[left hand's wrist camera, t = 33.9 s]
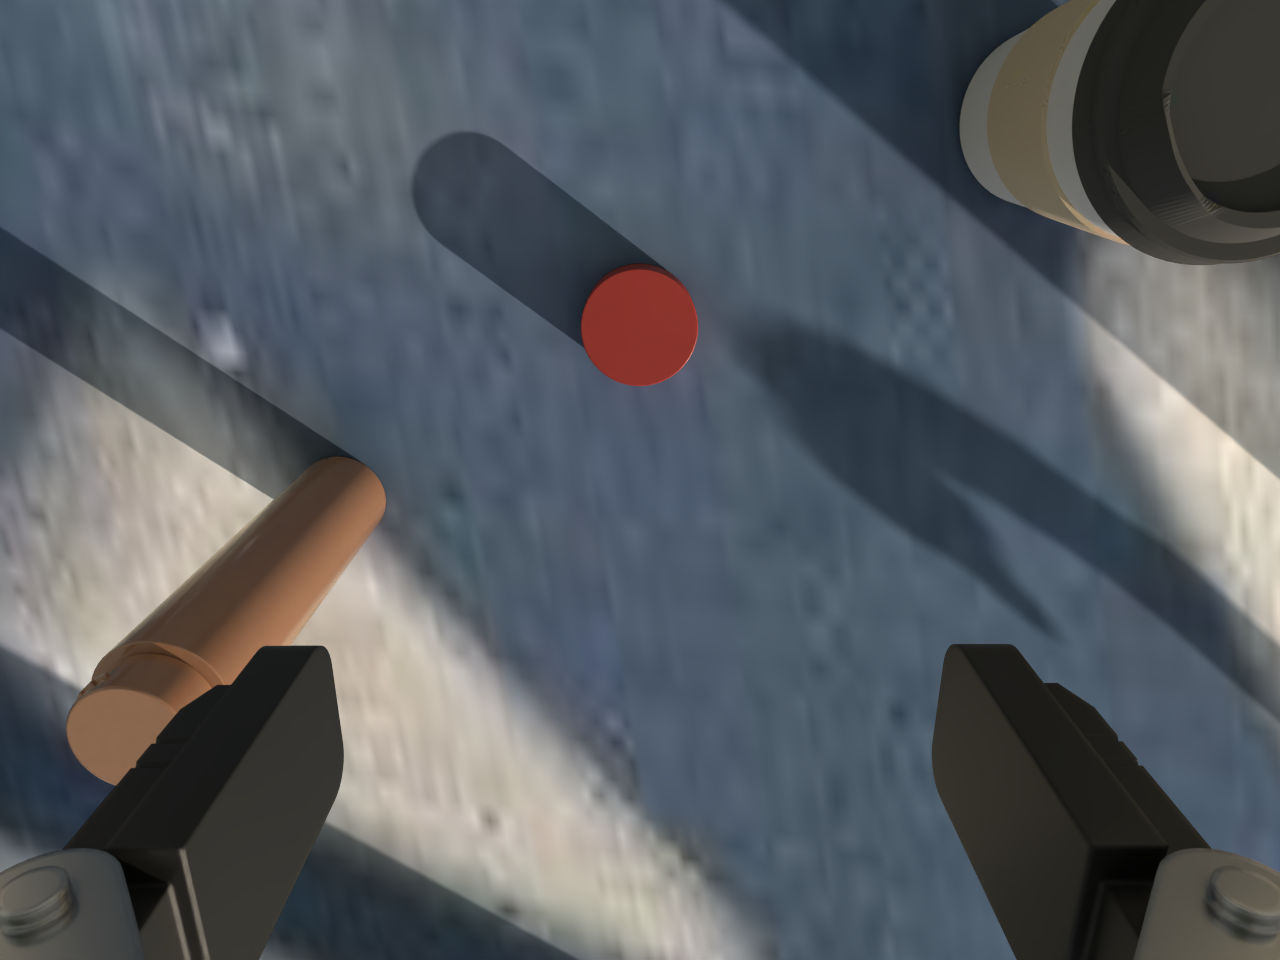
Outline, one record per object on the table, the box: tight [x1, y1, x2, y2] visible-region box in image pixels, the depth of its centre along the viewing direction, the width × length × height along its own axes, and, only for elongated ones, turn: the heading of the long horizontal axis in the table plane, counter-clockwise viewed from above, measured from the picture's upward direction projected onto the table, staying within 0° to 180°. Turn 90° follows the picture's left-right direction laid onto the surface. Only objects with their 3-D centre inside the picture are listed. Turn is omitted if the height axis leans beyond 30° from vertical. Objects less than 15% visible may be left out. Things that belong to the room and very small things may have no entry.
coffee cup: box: [960, 0, 1280, 265], centre depth 29 cm, size 9×9×15 cm
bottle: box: [66, 457, 386, 785], centre depth 33 cm, size 4×4×19 cm
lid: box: [581, 264, 698, 386], centre depth 38 cm, size 5×5×2 cm
